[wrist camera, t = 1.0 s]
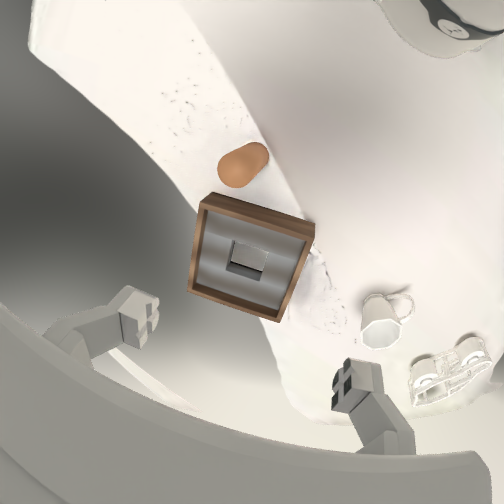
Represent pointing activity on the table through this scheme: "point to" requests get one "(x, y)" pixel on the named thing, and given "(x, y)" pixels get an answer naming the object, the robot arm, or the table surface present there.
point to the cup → (382, 321)
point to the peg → (242, 164)
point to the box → (253, 234)
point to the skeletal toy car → (448, 370)
